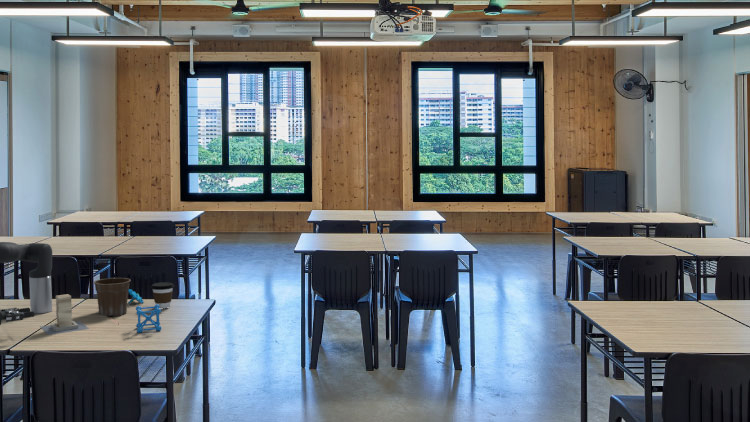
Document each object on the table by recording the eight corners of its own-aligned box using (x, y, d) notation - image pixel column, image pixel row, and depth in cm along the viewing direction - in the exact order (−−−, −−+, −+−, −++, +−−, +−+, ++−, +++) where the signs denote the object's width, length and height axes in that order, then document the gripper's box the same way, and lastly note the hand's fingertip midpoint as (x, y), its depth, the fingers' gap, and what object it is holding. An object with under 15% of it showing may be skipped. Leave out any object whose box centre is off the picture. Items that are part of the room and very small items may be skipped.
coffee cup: (165, 304, 315) (165, 281, 314) (179, 307, 309) (178, 283, 308) (146, 308, 306) (146, 284, 305) (160, 311, 300) (159, 287, 299)
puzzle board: (40, 329, 268) (39, 323, 268) (79, 323, 279) (79, 317, 278) (48, 337, 256) (48, 331, 256) (89, 330, 266) (89, 325, 266)
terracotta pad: (87, 322, 279) (87, 321, 279) (110, 319, 285) (110, 318, 285) (95, 328, 270) (95, 327, 270) (119, 324, 276) (119, 323, 276)
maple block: (56, 327, 268) (55, 295, 266) (69, 325, 271) (68, 294, 270) (59, 329, 264) (58, 297, 263) (72, 328, 267) (71, 296, 266)
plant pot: (110, 308, 305) (109, 276, 304) (138, 311, 301) (137, 278, 300) (86, 316, 290) (85, 282, 288) (116, 319, 286) (115, 285, 284)
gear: (142, 302, 312) (127, 288, 311) (133, 310, 311) (119, 297, 310) (146, 300, 323) (132, 287, 322) (138, 308, 322) (124, 295, 321)
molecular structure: (136, 327, 272) (135, 305, 271) (159, 325, 276) (159, 303, 275) (137, 333, 263) (136, 310, 262) (161, 331, 267) (161, 308, 266)
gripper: (-11, 311, 243) (35, 306, 253) (-17, 305, 254) (28, 300, 264) (-11, 330, 243) (35, 324, 253) (-16, 323, 254) (28, 317, 264)
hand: (31, 312), depth 259 cm, fingers open, 8 cm apart
